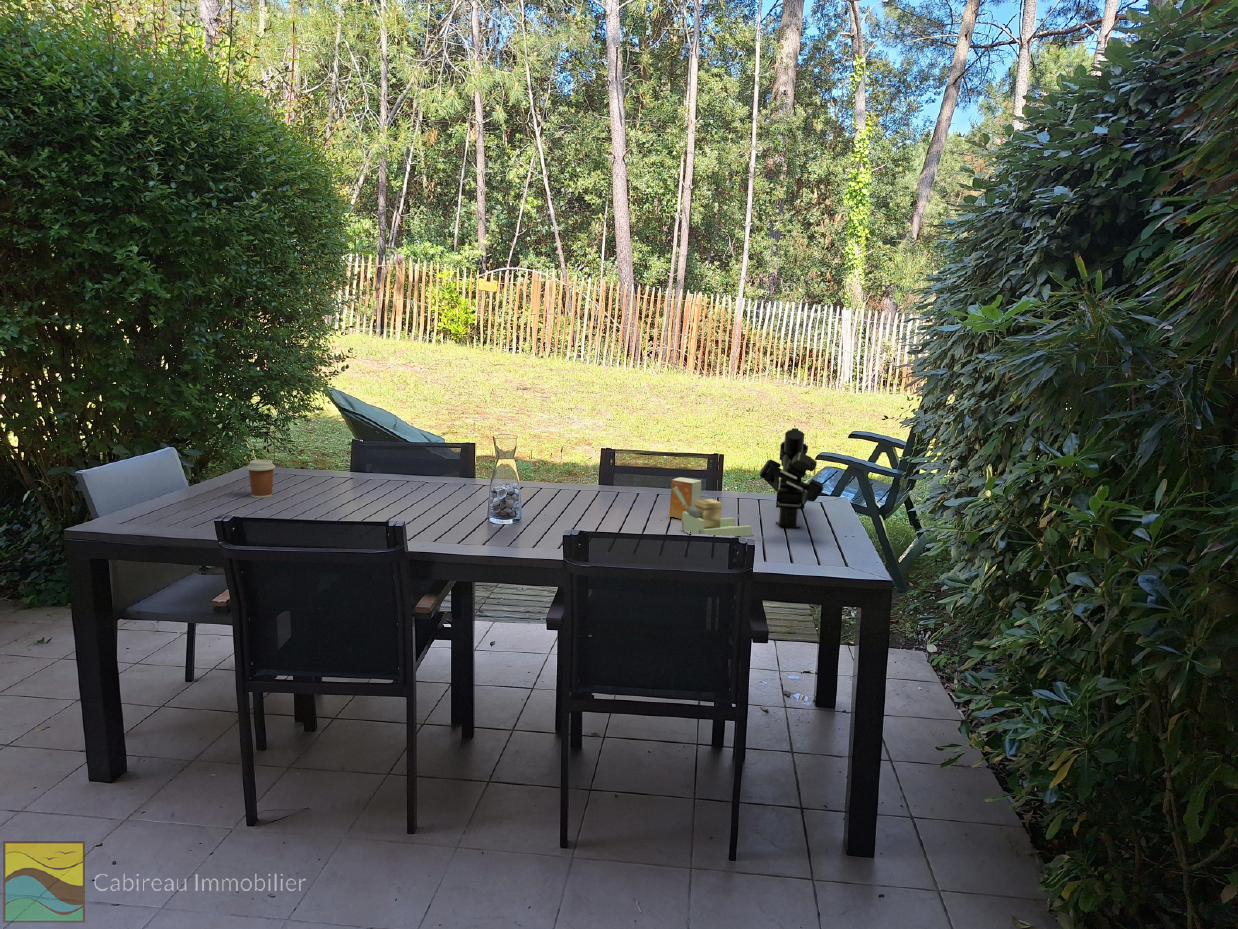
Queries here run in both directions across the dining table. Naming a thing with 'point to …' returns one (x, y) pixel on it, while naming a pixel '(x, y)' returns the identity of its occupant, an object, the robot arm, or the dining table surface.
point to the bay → (727, 528)
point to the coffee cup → (261, 477)
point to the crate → (709, 512)
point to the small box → (683, 495)
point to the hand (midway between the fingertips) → (790, 496)
